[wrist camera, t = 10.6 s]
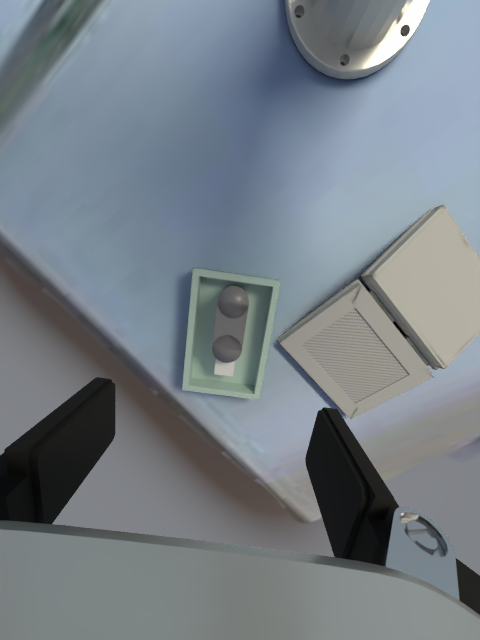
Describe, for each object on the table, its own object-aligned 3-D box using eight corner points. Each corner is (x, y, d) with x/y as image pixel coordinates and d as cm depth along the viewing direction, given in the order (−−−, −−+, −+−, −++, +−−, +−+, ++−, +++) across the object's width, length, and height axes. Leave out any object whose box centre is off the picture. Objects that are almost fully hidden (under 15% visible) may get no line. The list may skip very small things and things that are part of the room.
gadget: (431, 205, 25) (463, 195, 21) (497, 303, 27) (535, 309, 24) (275, 337, 29) (280, 348, 25) (345, 412, 31) (359, 432, 28)
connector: (222, 282, 26) (219, 285, 22) (249, 286, 26) (251, 289, 22) (212, 364, 28) (208, 378, 25) (237, 367, 28) (237, 381, 25)
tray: (197, 268, 26) (192, 268, 23) (277, 279, 26) (281, 281, 24) (187, 379, 29) (182, 389, 27) (257, 388, 30) (259, 400, 27)
